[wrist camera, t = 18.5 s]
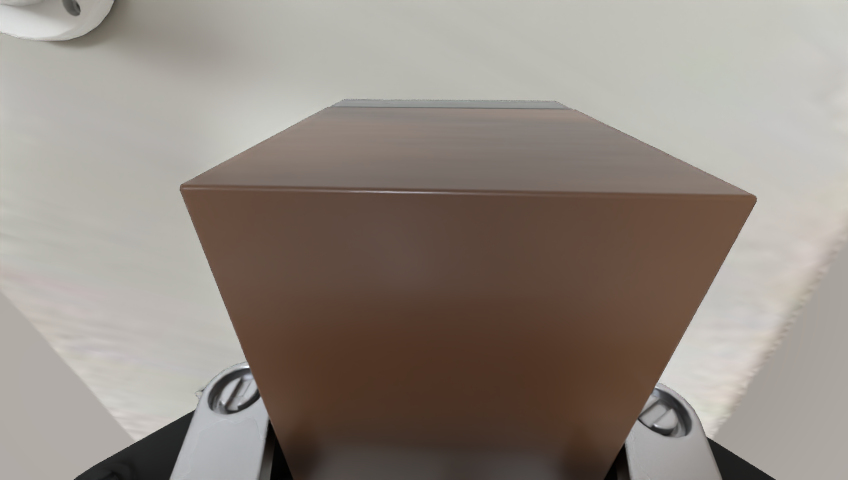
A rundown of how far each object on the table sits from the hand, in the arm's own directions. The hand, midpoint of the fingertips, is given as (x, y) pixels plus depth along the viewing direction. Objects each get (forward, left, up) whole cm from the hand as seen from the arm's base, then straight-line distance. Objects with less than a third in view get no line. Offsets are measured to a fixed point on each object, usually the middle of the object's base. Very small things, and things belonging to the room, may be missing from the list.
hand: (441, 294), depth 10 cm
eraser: (0, 0, 0) cm, 0 cm away
